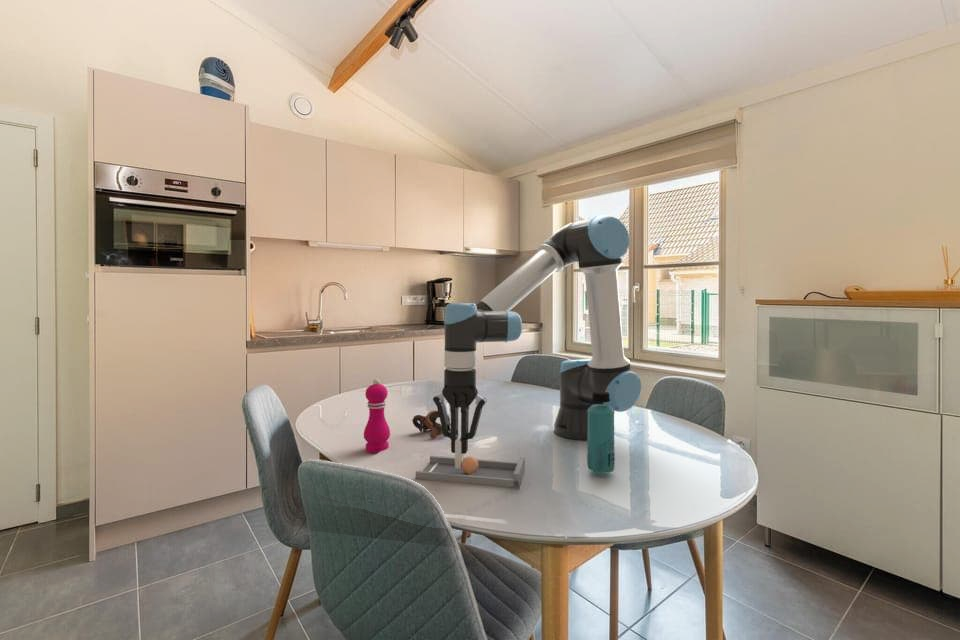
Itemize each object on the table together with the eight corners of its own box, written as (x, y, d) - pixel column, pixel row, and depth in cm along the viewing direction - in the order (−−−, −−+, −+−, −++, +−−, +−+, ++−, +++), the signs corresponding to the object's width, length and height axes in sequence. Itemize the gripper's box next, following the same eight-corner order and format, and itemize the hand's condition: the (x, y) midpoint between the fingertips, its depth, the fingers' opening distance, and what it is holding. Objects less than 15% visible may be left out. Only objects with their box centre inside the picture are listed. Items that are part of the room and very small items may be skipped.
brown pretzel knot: (448, 430, 146) (454, 411, 142) (444, 451, 137) (450, 432, 133) (412, 421, 145) (417, 402, 141) (406, 442, 136) (411, 422, 132)
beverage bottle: (610, 482, 103) (611, 395, 102) (582, 475, 107) (583, 392, 106) (617, 472, 109) (619, 390, 108) (591, 467, 112) (592, 387, 111)
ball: (462, 454, 109) (465, 471, 109) (458, 460, 105) (461, 477, 105) (478, 453, 108) (481, 469, 108) (474, 459, 104) (477, 476, 104)
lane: (524, 471, 110) (524, 456, 109) (518, 490, 99) (519, 474, 99) (430, 463, 115) (430, 449, 114) (415, 480, 104) (415, 465, 104)
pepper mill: (367, 455, 120) (366, 382, 119) (361, 447, 127) (360, 377, 126) (393, 451, 124) (392, 379, 123) (386, 444, 130) (385, 375, 129)
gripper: (490, 367, 108) (488, 463, 109) (438, 364, 111) (438, 458, 112) (483, 372, 101) (482, 474, 102) (428, 369, 104) (428, 469, 105)
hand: (459, 466), depth 107 cm, fingers closed
